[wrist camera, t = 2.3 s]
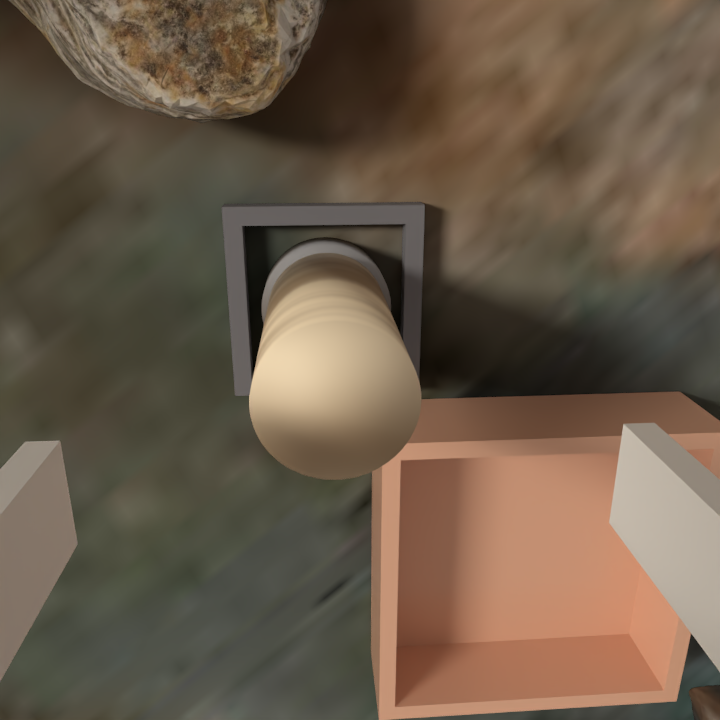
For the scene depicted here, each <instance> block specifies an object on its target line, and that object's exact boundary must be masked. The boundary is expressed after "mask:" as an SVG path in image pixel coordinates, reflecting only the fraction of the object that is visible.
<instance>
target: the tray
mask: <svg viewBox="0 0 720 720" xmlns="http://www.w3.org/2000/svg"><path fill="white" fill-rule="evenodd" d="M630 423H655V424H657V425H658V426H659V427H660V428H661V429H662V430H663V431H665V432H666V433H667V434H668V435H669V436H670V437H671V438H673V439H674V440H675V441H676V442H677V443H678V444H679V445H681V446H682V447H683V448H684V449H685V450H686V451H688V452H689V453H690V454H691V455H692V456H693V457H694V458H696V459H697V460H698V461H699V462H700V463H701V464H702V465H704V466H705V467H706V468H707V469H708V470H709V471H710V472H712V473H713V474H714V475H715V476H716V477H717V478H718V479H720V421H719V420H718V419H716V418H715V417H714V416H712V415H711V414H710V413H708V412H707V411H706V410H704V409H703V408H702V407H700V406H699V405H697V404H696V403H695V402H693V401H692V400H691V399H689V398H688V397H687V396H685V395H684V394H683V393H681V392H680V391H678V392H645V393H612V394H579V395H545V396H512V397H479V398H446V399H421V410H420V415H419V419H418V423H417V425H416V428H415V430H414V432H413V434H412V436H411V438H410V439H409V441H408V442H407V444H406V445H405V446H404V448H403V449H402V450H401V451H400V452H399V453H398V454H397V455H396V456H395V457H394V458H393V459H391V460H390V461H389V462H388V463H386V464H385V465H383V466H381V467H380V468H378V469H376V470H374V471H372V567H371V656H372V665H373V673H374V682H375V690H376V699H377V707H378V716H379V720H389V719H404V718H420V717H436V716H452V715H467V714H483V713H499V712H515V711H531V710H546V709H562V708H578V707H594V706H609V705H625V704H641V703H657V702H673V701H677V696H678V692H679V687H680V682H681V678H682V673H683V669H684V664H685V659H686V655H687V650H688V646H689V641H690V636H691V632H690V631H689V630H688V628H687V627H686V626H685V624H684V623H683V622H682V620H681V619H680V618H679V616H678V615H677V614H676V612H675V611H674V610H673V608H672V607H671V606H670V604H669V603H668V601H667V600H666V599H665V597H664V596H663V595H662V593H661V592H660V591H659V589H658V588H657V587H656V585H655V584H654V583H653V581H652V580H651V579H650V577H649V576H648V575H647V573H646V572H645V571H644V569H643V568H642V567H641V565H640V564H639V562H638V561H637V560H636V558H635V557H634V556H633V554H632V553H631V552H630V550H629V549H628V548H627V546H626V545H625V544H624V542H623V541H622V540H621V538H620V537H619V536H618V534H617V533H616V532H615V530H614V529H613V528H612V526H611V525H610V523H609V520H610V513H611V506H612V499H613V492H614V485H615V479H616V472H617V465H618V458H619V451H620V444H621V437H622V430H623V424H630Z"/></svg>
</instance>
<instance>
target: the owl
mask: <svg viewBox="0 0 720 720" xmlns="http://www.w3.org/2000/svg"><path fill="white" fill-rule="evenodd" d="M689 696H690V697H691V701H692V710H693V714H694V719H695V720H720V685H719V686H717V685H715V686H705V687H696V688H693V689H691V690H690V691H689Z"/></svg>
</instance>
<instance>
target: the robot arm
mask: <svg viewBox="0 0 720 720" xmlns="http://www.w3.org/2000/svg"><path fill="white" fill-rule="evenodd" d="M609 523H610V525H611V526H612V528H613V529H614V530H615V532H616V533H617V534H618V536H619V537H620V538H621V540H622V541H623V542H624V544H625V545H626V546H627V548H628V549H629V550H630V552H631V553H632V554H633V556H634V557H635V558H636V560H637V561H638V562H639V564H640V565H641V567H642V568H643V569H644V571H645V572H646V573H647V575H648V576H649V577H650V579H651V580H652V581H653V583H654V584H655V585H656V587H657V588H658V589H659V591H660V592H661V593H662V595H663V596H664V597H665V599H666V600H667V601H668V603H669V604H670V606H671V607H672V608H673V610H674V611H675V612H676V614H677V615H678V616H679V618H680V619H681V620H682V622H683V623H684V624H685V626H686V627H687V628H688V630H689V631H690V632H691V634H692V635H693V636H694V638H695V639H696V640H697V642H698V643H699V645H700V646H701V647H702V649H703V650H704V651H705V653H706V654H707V655H708V657H709V658H710V659H711V661H712V662H713V663H714V665H715V666H716V667H717V669H718V670H719V671H720V479H718V478H717V477H716V476H715V475H714V474H713V473H712V472H710V471H709V470H708V469H707V468H706V467H705V466H704V465H702V464H701V463H700V462H699V461H698V460H697V459H696V458H694V457H693V456H692V455H691V454H690V453H689V452H688V451H686V450H685V449H684V448H683V447H682V446H681V445H679V444H678V443H677V442H676V441H675V440H674V439H673V438H671V437H670V436H669V435H668V434H667V433H666V432H665V431H663V430H662V429H661V428H660V427H659V426H658V425H657V424H655V423H630V424H623V430H622V437H621V444H620V451H619V458H618V465H617V472H616V479H615V485H614V492H613V499H612V506H611V513H610V520H609ZM77 544H78V543H77V537H76V531H75V526H74V520H73V514H72V508H71V502H70V496H69V490H68V484H67V479H66V473H65V467H64V461H63V455H62V449H61V443H60V441H35V442H25V443H24V444H23V445H22V446H21V447H20V448H19V449H18V450H17V451H16V453H15V454H14V455H13V456H12V457H11V458H10V459H9V460H8V461H7V462H6V464H5V465H4V466H3V467H2V468H1V469H0V681H1V679H2V677H3V676H4V674H5V672H6V670H7V669H8V667H9V665H10V663H11V661H12V660H13V658H14V656H15V654H16V653H17V651H18V649H19V647H20V645H21V644H22V642H23V640H24V638H25V637H26V635H27V633H28V631H29V629H30V628H31V626H32V624H33V622H34V621H35V619H36V617H37V615H38V613H39V612H40V610H41V608H42V606H43V605H44V603H45V601H46V599H47V597H48V596H49V594H50V592H51V590H52V589H53V587H54V585H55V583H56V582H57V580H58V578H59V576H60V574H61V573H62V571H63V569H64V567H65V566H66V564H67V562H68V560H69V558H70V557H71V555H72V553H73V551H74V550H75V548H76V546H77Z"/></svg>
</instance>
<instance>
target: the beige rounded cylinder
mask: <svg viewBox="0 0 720 720" xmlns="http://www.w3.org/2000/svg"><path fill="white" fill-rule="evenodd" d="M262 319H263V323H264V327H263V332H262V336H261V341H260V346H259V350H258V355H257V360H256V365H255V369H254V374H253V379H252V384H251V389H250V396H249V409H250V416H251V420H252V424H253V427H254V429H255V432H256V434H257V436H258V438H259V439H260V441H261V443H262V444H263V446H264V447H265V448H266V449H267V451H268V452H269V453H270V454H271V455H272V456H273V457H274V458H275V459H277V460H278V461H279V462H280V463H282V464H283V465H285V466H286V467H288V468H290V469H292V470H294V471H295V472H298V473H301V474H303V475H306V476H310V477H314V478H319V479H327V480H339V479H349V478H353V477H358V476H361V475H364V474H367V473H370V472H372V471H374V470H376V469H378V468H380V467H381V466H383V465H385V464H386V463H388V462H389V461H390V460H391V459H393V458H394V457H395V456H396V455H397V454H398V453H399V452H400V451H401V450H402V449H403V448H404V446H405V445H406V444H407V442H408V441H409V439H410V438H411V436H412V434H413V432H414V430H415V428H416V425H417V423H418V419H419V415H420V410H421V388H420V383H419V379H418V376H417V373H416V370H415V368H414V366H413V363H412V361H411V359H410V356H409V354H408V352H407V349H406V347H405V345H404V342H403V340H402V338H401V335H400V333H399V331H398V328H397V326H396V323H395V321H394V319H393V316H392V314H391V299H390V294H389V290H388V287H387V285H386V282H385V280H384V278H383V276H382V274H381V272H380V270H379V268H378V266H377V265H376V263H375V262H374V260H373V259H372V258H371V257H370V256H369V255H368V254H367V253H366V252H365V251H363V250H362V249H361V248H359V247H358V246H356V245H354V244H352V243H350V242H347V241H344V240H341V239H336V238H327V237H323V238H314V239H309V240H306V241H303V242H300V243H299V244H297V245H295V246H293V247H291V248H290V249H289V250H287V251H286V252H285V253H284V254H283V255H281V256H280V258H279V259H278V260H277V261H276V262H275V264H274V266H273V267H272V269H271V271H270V273H269V275H268V278H267V281H266V285H265V289H264V293H263V298H262Z"/></svg>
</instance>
